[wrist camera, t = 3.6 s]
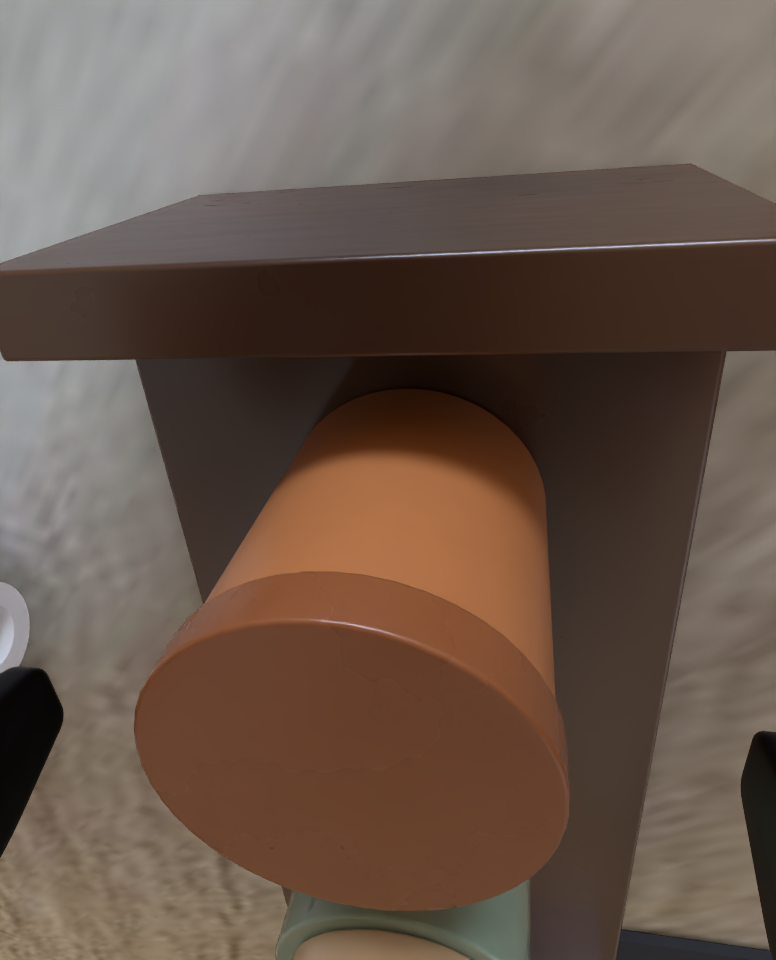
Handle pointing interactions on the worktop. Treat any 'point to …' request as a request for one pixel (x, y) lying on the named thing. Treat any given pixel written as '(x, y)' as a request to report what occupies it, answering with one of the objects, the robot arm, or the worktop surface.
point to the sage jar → (407, 931)
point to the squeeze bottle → (12, 627)
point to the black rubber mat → (680, 949)
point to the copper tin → (375, 669)
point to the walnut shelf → (464, 374)
